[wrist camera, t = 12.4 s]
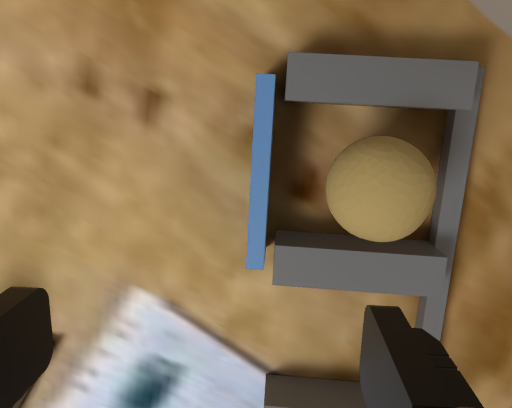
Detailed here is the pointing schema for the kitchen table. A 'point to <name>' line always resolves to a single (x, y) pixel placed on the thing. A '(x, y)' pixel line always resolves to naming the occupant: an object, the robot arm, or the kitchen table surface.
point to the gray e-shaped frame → (350, 246)
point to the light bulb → (381, 188)
